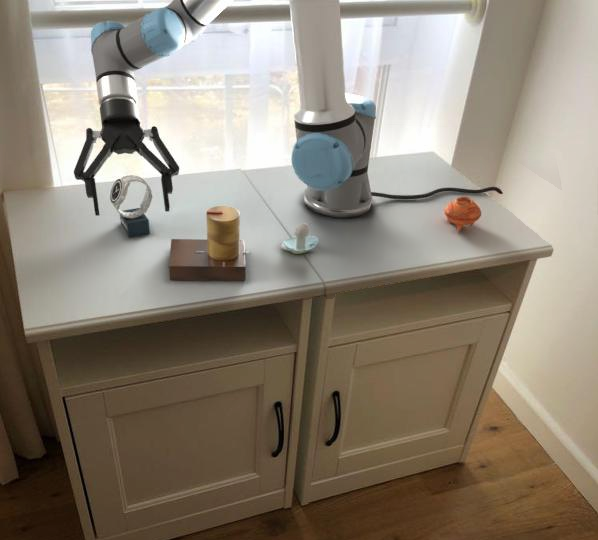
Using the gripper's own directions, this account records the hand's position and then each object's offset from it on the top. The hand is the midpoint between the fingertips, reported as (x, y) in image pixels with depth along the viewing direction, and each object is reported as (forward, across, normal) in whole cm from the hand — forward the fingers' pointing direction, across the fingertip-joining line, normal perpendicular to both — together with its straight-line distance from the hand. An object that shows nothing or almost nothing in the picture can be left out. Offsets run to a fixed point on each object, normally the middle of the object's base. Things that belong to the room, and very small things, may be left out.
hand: (132, 211), depth 131 cm
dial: (+12, -15, +9) cm, 21 cm away
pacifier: (+11, -31, +4) cm, 33 cm away
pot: (+8, -70, +1) cm, 70 cm away
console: (+14, -12, +7) cm, 20 cm away
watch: (+2, 0, -5) cm, 6 cm away
